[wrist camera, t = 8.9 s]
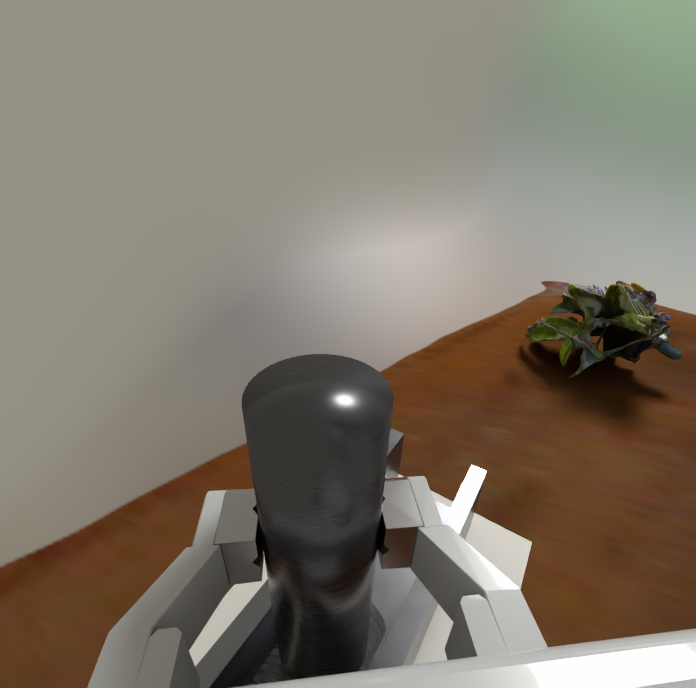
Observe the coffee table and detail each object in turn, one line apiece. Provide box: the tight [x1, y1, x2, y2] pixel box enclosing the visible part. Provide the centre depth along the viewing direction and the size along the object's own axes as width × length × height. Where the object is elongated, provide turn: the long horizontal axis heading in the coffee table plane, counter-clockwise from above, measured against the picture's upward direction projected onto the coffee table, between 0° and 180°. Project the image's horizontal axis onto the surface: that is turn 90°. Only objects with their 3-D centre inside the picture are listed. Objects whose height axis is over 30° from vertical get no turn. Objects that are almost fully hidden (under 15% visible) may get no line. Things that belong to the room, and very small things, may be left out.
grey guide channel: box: [195, 429, 487, 688], centre depth 16 cm, size 16×6×5 cm, turn 146°
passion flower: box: [526, 281, 682, 379], centre depth 39 cm, size 11×11×12 cm
